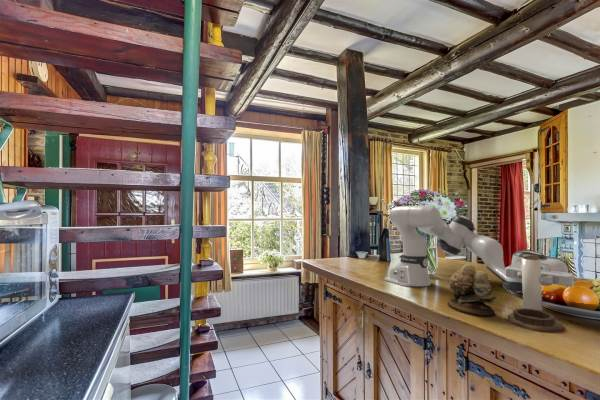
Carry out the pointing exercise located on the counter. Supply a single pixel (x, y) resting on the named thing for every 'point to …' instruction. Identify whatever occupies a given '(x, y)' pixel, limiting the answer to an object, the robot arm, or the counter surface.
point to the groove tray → (537, 328)
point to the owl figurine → (471, 292)
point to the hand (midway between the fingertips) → (530, 278)
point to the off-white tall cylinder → (531, 282)
